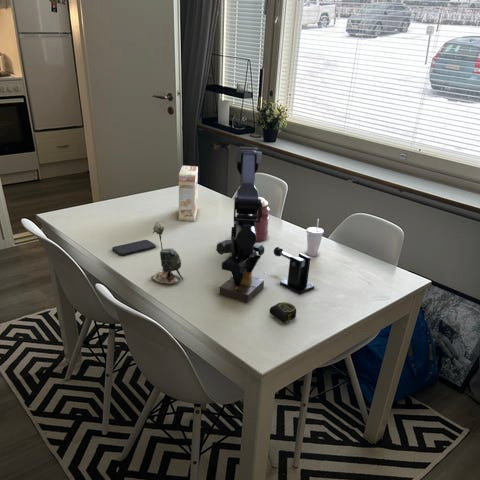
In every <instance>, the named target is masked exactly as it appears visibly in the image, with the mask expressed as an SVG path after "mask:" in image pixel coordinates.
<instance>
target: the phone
mask: <svg viewBox="0 0 480 480" xmlns="http://www.w3.org/2000/svg"><path fill="white" fill-rule="evenodd" d="M156 247H157V245H156V244H155V243H153V242H152V241H151V240H148V239H142V240H137V241H133V242H128V243H124V244H120V245H115V246H112V248H111V249H112V251H113V252H115V253H116V254H118V256H119V255H120V256H127V255H130V254H135V253H139V252H142V251H143V252H144V251H147V250H151V249H156Z"/></svg>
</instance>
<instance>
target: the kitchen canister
mask: <svg viewBox="0 0 480 480" xmlns="http://www.w3.org/2000/svg"><path fill="white" fill-rule="evenodd" d="M258 199H261V202H262V218H260V222H256V225H255V229H256V232H257V236H256V238H257V241H256V243H259V242H263V241H265V240H266V239H267V237H268V234H269V220H270V216H269V213H270V211H271V207H269V206H268V205H269V202H268V200H266V199H265V198H264V197H261V196H258ZM237 215H239V214H238V213H236V217H237ZM252 216H257V218H258V211H257V214H256V215H253V214H252Z"/></svg>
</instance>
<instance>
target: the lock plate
mask: <svg viewBox="0 0 480 480" xmlns="http://www.w3.org/2000/svg"><path fill="white" fill-rule="evenodd" d="M233 281H234V279H233V275H232V276H231V277H230V278H228V279H227V280H226V281H225V282H224V283H222V284H221V285H220V286H219V287H218V288H219V291H218V292H219V293H218V295H219V296H220V297H224V298H227V299H230V300H235V301H238V302H241V303H245V304H248V303H250V302H251V301H252V300H253V299H254V298H255V297H256V296H257V295H259V293H260V292H261V291H263V289H264V288H265V280H264V279H261V278H257V277H254V276H252V278H251V285H250V286H246V285H242V284H240V285H239V286H236V285H235V282H233Z"/></svg>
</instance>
